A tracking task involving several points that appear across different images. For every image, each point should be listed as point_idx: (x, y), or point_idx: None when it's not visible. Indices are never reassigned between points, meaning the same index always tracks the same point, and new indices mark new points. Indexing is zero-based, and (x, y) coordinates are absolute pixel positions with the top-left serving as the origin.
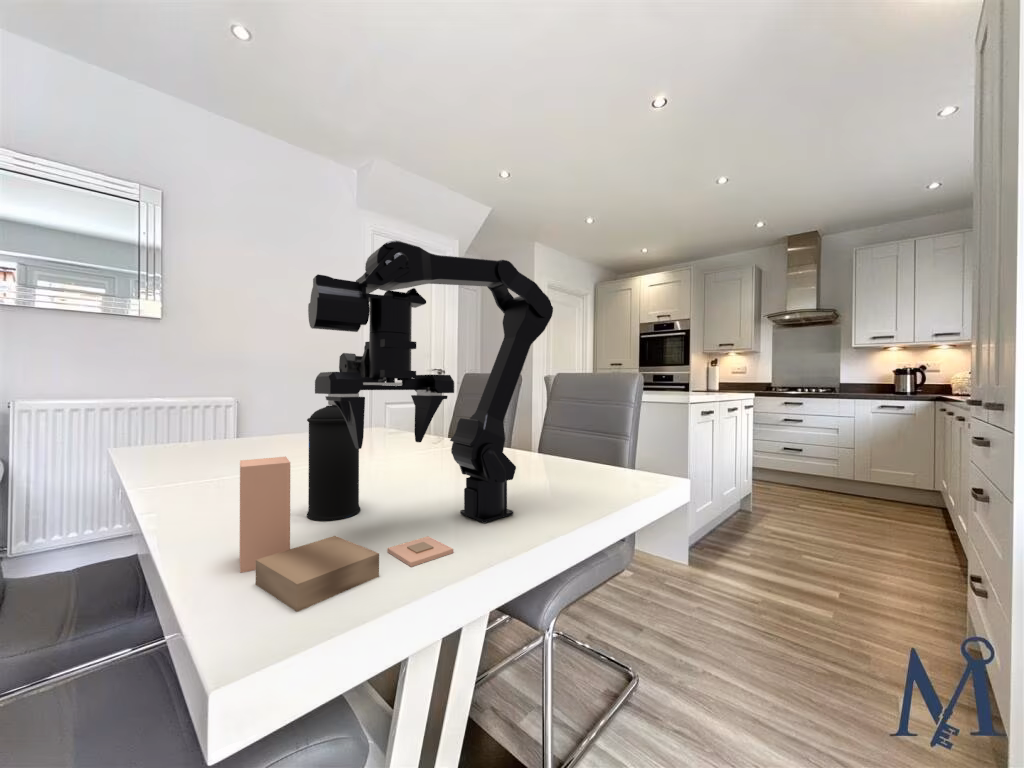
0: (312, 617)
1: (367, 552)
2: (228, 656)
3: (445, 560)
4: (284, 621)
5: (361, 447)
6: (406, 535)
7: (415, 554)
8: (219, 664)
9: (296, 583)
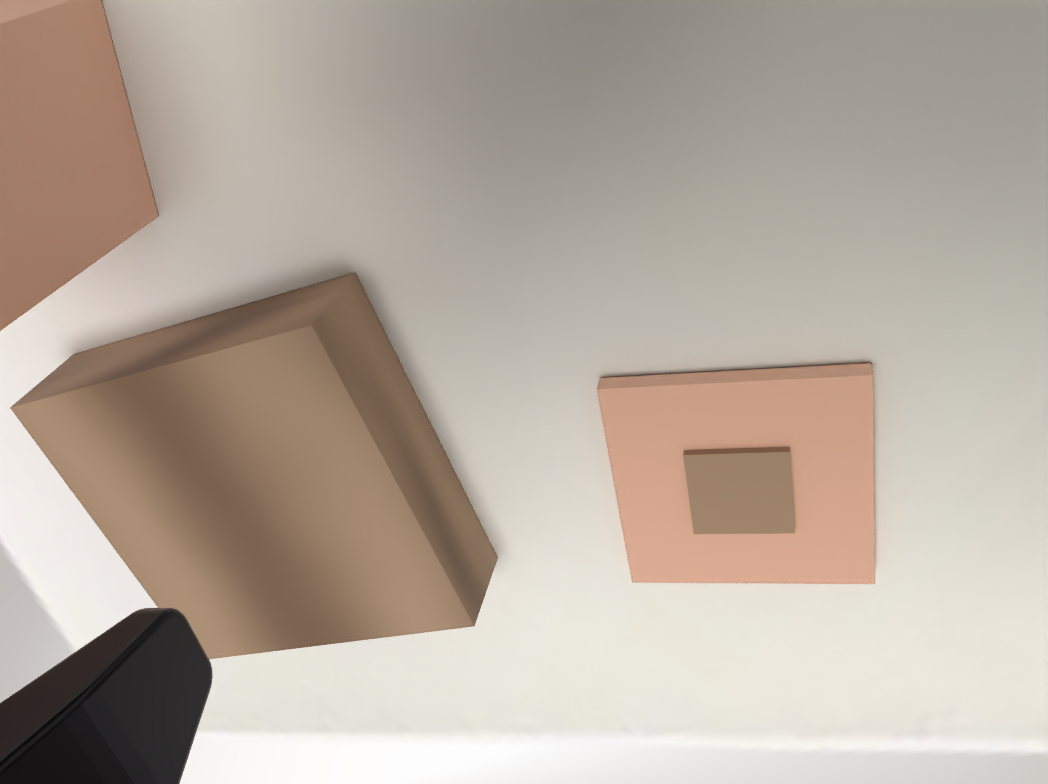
0: None
1: (432, 594)
2: None
3: (792, 601)
4: None
5: (207, 693)
6: (802, 210)
7: (685, 532)
8: None
9: None
